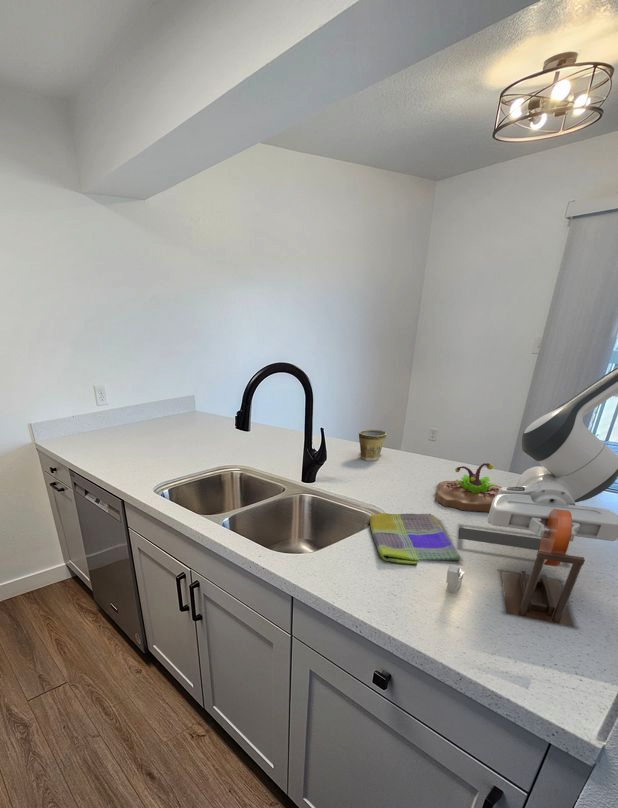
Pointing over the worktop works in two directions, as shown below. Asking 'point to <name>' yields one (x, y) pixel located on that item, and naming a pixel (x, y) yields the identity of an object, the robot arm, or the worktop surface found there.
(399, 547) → the dish towel
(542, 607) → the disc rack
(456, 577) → the lighter
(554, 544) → the disc
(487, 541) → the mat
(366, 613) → the worktop surface
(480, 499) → the plant
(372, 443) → the ceramic cup
